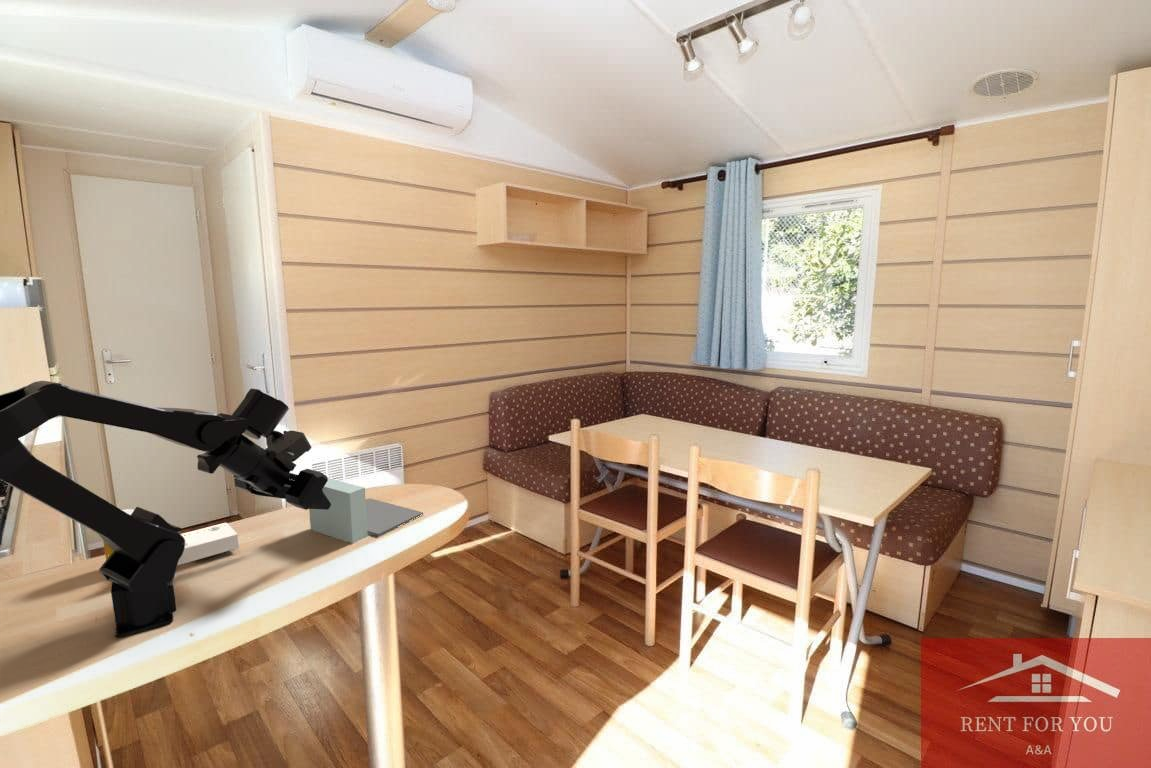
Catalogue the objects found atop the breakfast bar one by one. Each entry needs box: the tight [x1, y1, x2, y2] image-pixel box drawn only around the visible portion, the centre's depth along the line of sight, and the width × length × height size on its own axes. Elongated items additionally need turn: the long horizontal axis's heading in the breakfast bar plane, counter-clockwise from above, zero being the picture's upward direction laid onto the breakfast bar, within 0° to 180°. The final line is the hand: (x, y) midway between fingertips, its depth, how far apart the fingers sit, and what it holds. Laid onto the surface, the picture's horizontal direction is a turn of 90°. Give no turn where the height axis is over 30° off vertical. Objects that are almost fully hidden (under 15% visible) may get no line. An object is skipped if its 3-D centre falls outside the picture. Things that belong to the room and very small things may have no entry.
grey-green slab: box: [308, 477, 369, 544], centre depth 108 cm, size 4×12×10 cm, turn 61°
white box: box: [177, 522, 240, 566], centre depth 98 cm, size 13×7×8 cm, turn 135°
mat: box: [366, 497, 424, 538], centre depth 117 cm, size 12×16×1 cm
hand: (312, 502), depth 103 cm, fingers open, 9 cm apart
